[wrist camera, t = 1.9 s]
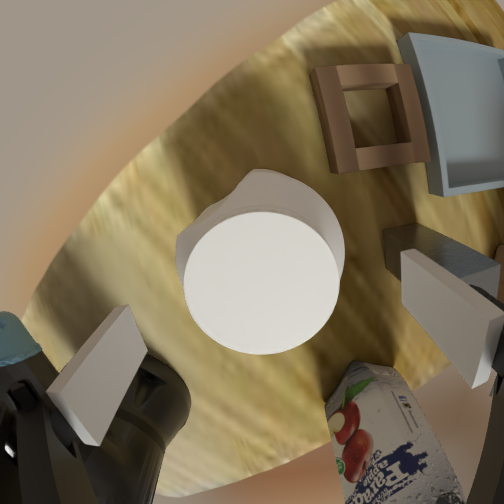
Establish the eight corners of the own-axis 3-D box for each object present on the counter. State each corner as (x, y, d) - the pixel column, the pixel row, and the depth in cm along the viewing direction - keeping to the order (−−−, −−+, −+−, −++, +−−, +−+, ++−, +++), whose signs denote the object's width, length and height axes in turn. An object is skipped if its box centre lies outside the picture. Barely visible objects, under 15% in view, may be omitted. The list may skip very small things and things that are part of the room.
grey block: (385, 268, 31) (453, 333, 17) (382, 229, 29) (459, 278, 16) (418, 259, 30) (493, 315, 17) (417, 222, 29) (500, 263, 16)
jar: (245, 295, 32) (237, 394, 17) (184, 227, 30) (124, 286, 15) (333, 228, 29) (396, 288, 15) (274, 152, 27) (293, 141, 13)
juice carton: (403, 361, 34) (491, 523, 9) (366, 413, 37) (416, 566, 12) (349, 351, 34) (426, 554, 8) (314, 407, 37) (346, 585, 11)
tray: (429, 193, 28) (443, 197, 25) (396, 41, 23) (408, 32, 20) (519, 179, 27) (533, 182, 24) (496, 56, 22) (509, 52, 19)
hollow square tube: (330, 172, 28) (338, 173, 25) (309, 76, 25) (314, 67, 22) (416, 160, 27) (430, 161, 24) (397, 71, 24) (409, 64, 21)
